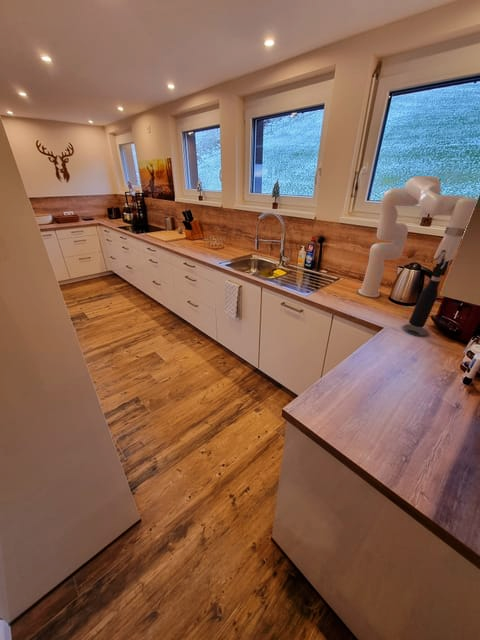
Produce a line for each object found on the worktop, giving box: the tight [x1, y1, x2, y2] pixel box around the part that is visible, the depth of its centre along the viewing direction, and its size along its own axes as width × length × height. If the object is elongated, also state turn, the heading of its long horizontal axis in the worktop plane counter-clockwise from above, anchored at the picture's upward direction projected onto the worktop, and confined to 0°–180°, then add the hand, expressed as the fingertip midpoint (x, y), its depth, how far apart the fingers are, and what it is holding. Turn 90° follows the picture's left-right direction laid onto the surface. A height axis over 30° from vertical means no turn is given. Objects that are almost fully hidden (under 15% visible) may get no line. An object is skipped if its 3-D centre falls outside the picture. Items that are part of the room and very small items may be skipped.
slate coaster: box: [403, 323, 429, 337], centre depth 127 cm, size 10×10×1 cm
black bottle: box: [408, 262, 449, 328], centre depth 119 cm, size 6×6×30 cm
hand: (437, 275), depth 114 cm, fingers closed on black bottle, 3 cm apart
